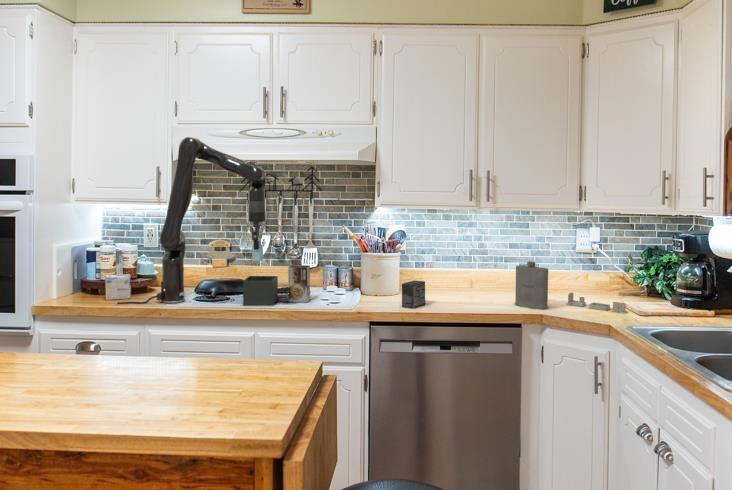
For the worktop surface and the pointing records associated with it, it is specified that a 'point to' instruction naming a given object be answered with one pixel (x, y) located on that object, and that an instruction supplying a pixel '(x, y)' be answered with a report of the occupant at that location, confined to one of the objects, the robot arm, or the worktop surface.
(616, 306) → the bathroom set
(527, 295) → the flask
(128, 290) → the light bulb box
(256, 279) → the waste bin
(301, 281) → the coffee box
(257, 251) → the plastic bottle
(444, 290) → the worktop surface
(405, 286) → the small box
